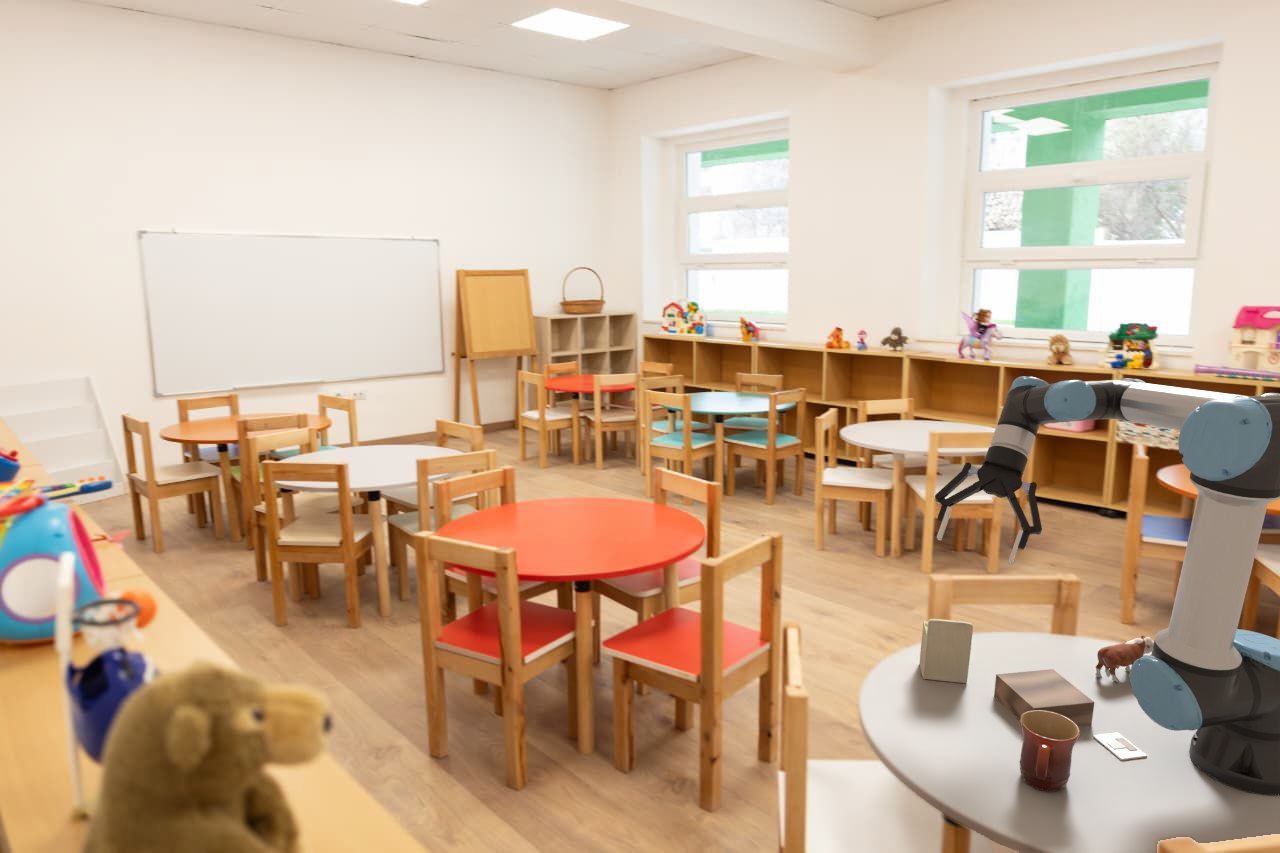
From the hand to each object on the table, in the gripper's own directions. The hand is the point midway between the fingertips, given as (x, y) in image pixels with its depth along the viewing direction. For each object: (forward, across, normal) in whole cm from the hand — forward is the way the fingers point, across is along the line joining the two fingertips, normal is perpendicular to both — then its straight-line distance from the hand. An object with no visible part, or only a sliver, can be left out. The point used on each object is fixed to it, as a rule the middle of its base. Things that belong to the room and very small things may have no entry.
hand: (973, 550), depth 166 cm
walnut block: (+24, -20, -8) cm, 32 cm away
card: (+24, -33, -2) cm, 41 cm away
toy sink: (+24, -1, -14) cm, 28 cm away
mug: (+36, -22, +13) cm, 44 cm away
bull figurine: (+10, -32, -26) cm, 42 cm away
